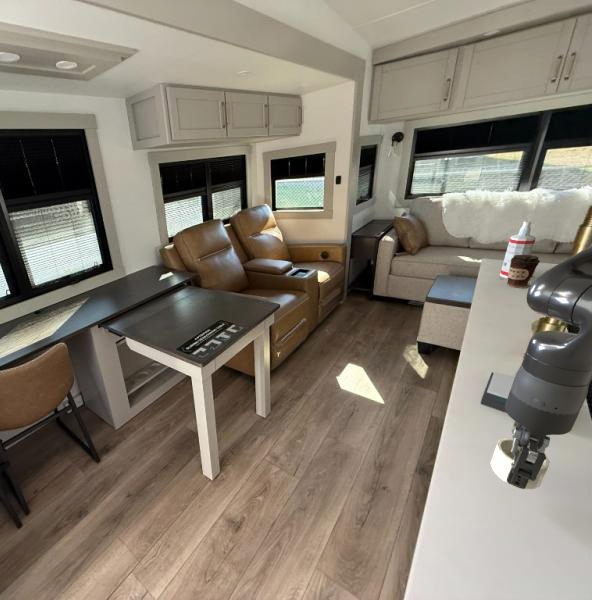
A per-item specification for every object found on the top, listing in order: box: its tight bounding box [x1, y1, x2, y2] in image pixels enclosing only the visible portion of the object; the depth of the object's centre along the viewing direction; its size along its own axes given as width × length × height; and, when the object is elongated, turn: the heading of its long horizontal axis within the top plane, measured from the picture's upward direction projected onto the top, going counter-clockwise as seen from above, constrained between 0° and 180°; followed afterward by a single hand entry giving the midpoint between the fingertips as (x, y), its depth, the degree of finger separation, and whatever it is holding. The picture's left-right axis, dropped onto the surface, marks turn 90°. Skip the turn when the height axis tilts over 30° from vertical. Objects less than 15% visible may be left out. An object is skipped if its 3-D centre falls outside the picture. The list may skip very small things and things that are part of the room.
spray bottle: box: [499, 220, 537, 279], centre depth 140 cm, size 8×8×25 cm
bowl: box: [490, 437, 550, 490], centre depth 55 cm, size 6×6×6 cm
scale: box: [480, 371, 515, 414], centre depth 78 cm, size 13×11×3 cm
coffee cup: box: [506, 254, 541, 289], centre depth 133 cm, size 9×8×13 cm
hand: (515, 469), depth 56 cm, fingers closed on bowl, 6 cm apart
